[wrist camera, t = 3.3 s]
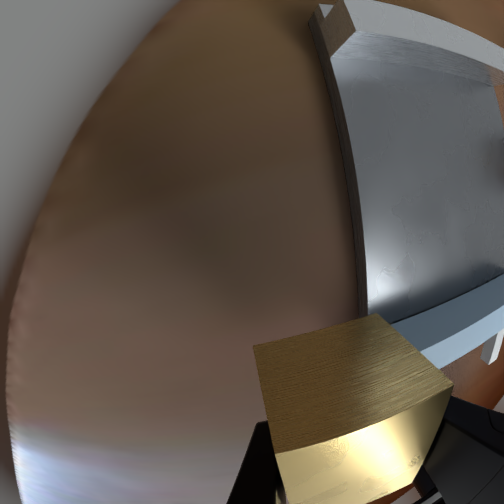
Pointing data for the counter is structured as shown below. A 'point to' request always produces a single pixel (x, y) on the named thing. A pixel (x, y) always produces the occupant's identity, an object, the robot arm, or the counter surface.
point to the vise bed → (418, 181)
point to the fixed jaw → (407, 40)
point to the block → (349, 410)
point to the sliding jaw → (459, 326)
